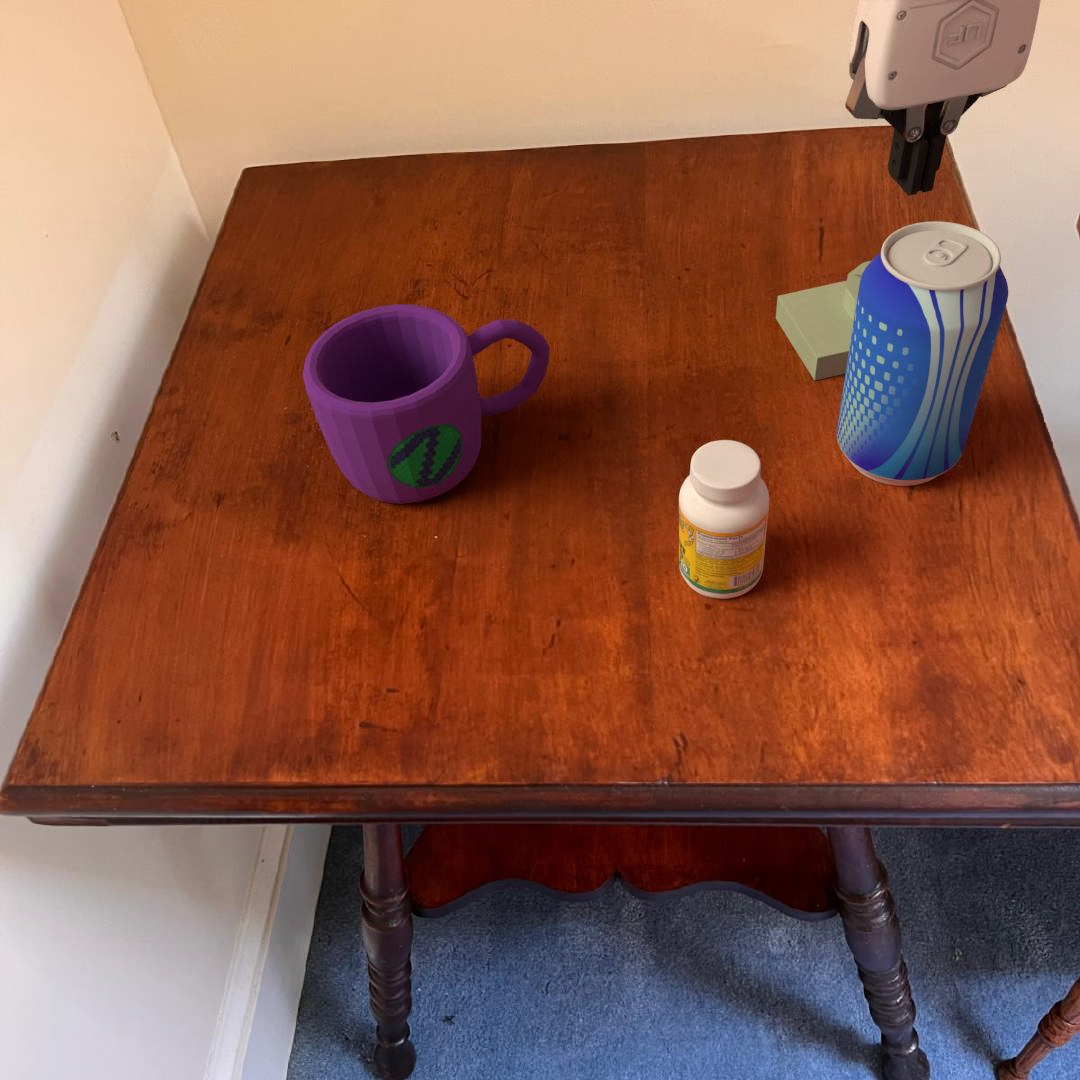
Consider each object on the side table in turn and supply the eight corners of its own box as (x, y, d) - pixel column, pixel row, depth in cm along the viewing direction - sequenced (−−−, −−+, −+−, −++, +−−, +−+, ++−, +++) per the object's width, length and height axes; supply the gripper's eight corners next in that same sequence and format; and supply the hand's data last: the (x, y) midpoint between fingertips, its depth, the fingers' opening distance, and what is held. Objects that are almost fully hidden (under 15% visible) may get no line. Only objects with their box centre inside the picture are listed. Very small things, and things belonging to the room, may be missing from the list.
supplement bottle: (754, 608, 64) (764, 505, 57) (670, 593, 66) (668, 490, 59) (769, 544, 68) (780, 438, 60) (688, 530, 69) (689, 425, 62)
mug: (367, 540, 71) (330, 435, 64) (318, 442, 78) (279, 337, 71) (589, 447, 75) (580, 338, 68) (524, 362, 82) (508, 254, 75)
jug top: (905, 289, 83) (914, 246, 80) (953, 349, 78) (964, 305, 75) (775, 318, 83) (778, 276, 80) (814, 381, 77) (819, 338, 74)
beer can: (981, 483, 69) (1044, 282, 57) (857, 504, 69) (895, 307, 57) (932, 401, 75) (981, 202, 63) (818, 420, 75) (845, 225, 62)
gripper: (868, -66, 55) (828, 235, 69) (1132, -118, 56) (1040, 189, 70) (813, -112, 59) (786, 178, 73) (1057, -160, 60) (985, 135, 74)
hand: (910, 182), depth 71 cm, fingers closed
